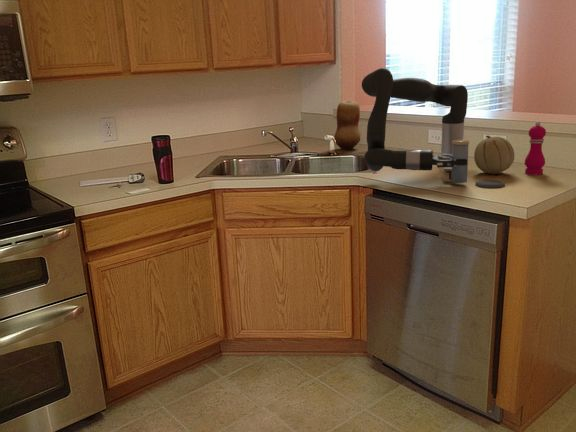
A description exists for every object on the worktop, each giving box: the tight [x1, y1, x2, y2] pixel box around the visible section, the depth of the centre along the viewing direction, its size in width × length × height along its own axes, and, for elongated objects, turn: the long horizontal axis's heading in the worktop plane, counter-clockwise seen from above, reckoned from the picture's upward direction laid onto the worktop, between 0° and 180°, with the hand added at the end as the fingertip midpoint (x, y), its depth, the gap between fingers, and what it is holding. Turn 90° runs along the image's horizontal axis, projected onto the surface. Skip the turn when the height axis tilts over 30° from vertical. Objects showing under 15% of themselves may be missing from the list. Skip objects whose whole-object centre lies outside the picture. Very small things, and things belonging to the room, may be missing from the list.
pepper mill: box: [524, 121, 547, 176], centre depth 205 cm, size 7×7×20 cm
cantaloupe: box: [473, 135, 515, 175], centre depth 209 cm, size 15×15×15 cm
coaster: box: [475, 179, 506, 189], centre depth 194 cm, size 10×10×1 cm
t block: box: [442, 167, 452, 183], centre depth 203 cm, size 5×5×5 cm
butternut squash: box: [333, 100, 361, 150], centre depth 279 cm, size 14×13×25 cm
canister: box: [450, 139, 470, 184], centre depth 194 cm, size 6×6×15 cm
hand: (467, 160), depth 193 cm, fingers closed on canister, 5 cm apart
